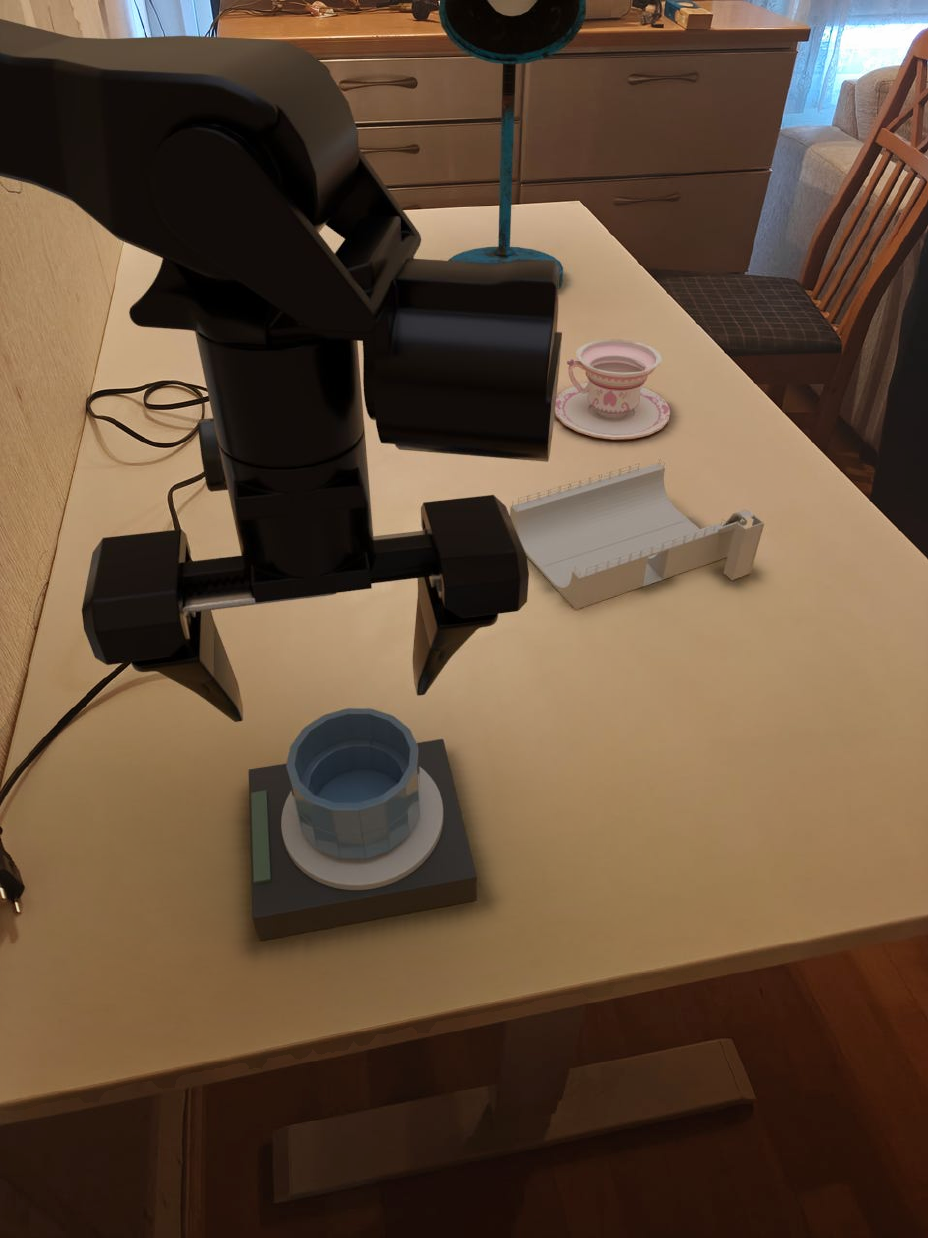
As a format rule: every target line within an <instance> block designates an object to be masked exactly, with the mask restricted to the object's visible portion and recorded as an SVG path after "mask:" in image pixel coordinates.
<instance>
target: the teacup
mask: <svg viewBox="0 0 928 1238" xmlns="http://www.w3.org/2000/svg"><path fill="white" fill-rule="evenodd" d="M575 356H576V359H577V360H574V359H570V360H567V361H566V365H568V376H569V379H570V382H571V383H572V384H573V386H570V387H568V388H566V389H564V390H563V391H562V392H561V393H559V394H557V396H556V406H555V417H556V418H557V419H558V420H559V421H560V422H561V423H562V425H564V426H565V427H566V428H569V429H571V430H573V431H575V432H576V433H579V434H582V435H586V436H589V437H592V438H599V439H605V440H613V441H614V440H616V441H617V440H635V439H638V438H643V437H648V436H650V435H651V436H652V435H653V434H655V433H656V432H659V431H661V430H662V429H664V427H665V426H666V425H667V424H668V423H669V421H670V414H671V408H670V406H669V405H668V403H667V401H666V400H665V399H664V398H663V397H661V396H660V395H659V394H658V393H657V392H654V391H652V390H650V389H648V388H646V387H644V386H643V385H644V384H645V383H646V382H647V380H648V377H649V376H650V375H651V374H652V373H653V372H654V371H655V370H656V368H658V367H659V366H660V365H661V363H662V362H663V361H662V360H663V356H662V354H661V353H660V352H659V351H658V350H657V349H656V348H654V347H652V346H650V345H648V344H645V343H643V342H638V341H634V340H627V339H600V340H593V341H589V342H587V343H585V344H582V345H581V346H580V347H579V348H578V349H577V350H576V354H575ZM574 368H580V369H582V370H583V371H585V376H586V377H587V379H588V382H582V383H579V382H578V380H577V378H575V375H574V372H573V369H574Z"/></svg>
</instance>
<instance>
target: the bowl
mask: <svg viewBox="0 0 928 1238" xmlns="http://www.w3.org/2000/svg"><path fill="white" fill-rule="evenodd" d="M417 743H418V742H417V741H416V739H415V737H414V735H413V733H412V730H411V729H410V728H409V727H408V726H407V725H406V724H404V723H403V722H402V721H401V720H399V719H398V718H397V717H396V716H395V715H392V714H390V713H387V712H383V711H382V710H377V709H374V708H370V707H369V708H368V707H367V708H364V707H360V708H358V707H355V708H354V707H348V708H343V709H340V710H336V711H332V712H329V713H326V714H322V715H321V716H320V717H318V718H317V719H315V720H314V721H312V722H310V723H309V724H308V725H306V726H304V727H303V728H302V729H301V731H300V732H299V734H298V735H297V736H296V738H295V739H294V740H293V742H292V743H291V745H290V746H289V750H288V756H287V760H286V763H285V764H286V768H287V772H288V777H289V782H290V786H291V791H292V795H293V800H294V805H295V809H296V814H297V818H298V821H299V824H300V827H301V831H302V833H303V835H304V836H305V837H306V838H307V839H308V840H309V841H310V842H311V843H312V844H313V845H314V846H315V847H316V848H317V849H318V850H320V851H322V852H325V853H327V854H330V855H332V856H335V857H337V858H358V859H364V858H366V859H367V858H370V857H373V856H376V855H379V854H382V853H385V852H388V851H389V850H391V849H393V848H394V847H395V846H396V845H398V844H399V843H400V842H401V841H403V840H404V839H405V838H406V837H408V835H409V834H410V833H411V831H412V829H413V827H414V826H415V824H416V822H417V820H418V818H419V816H420V805H421V788H420V770H419V751H418V746H417Z"/></svg>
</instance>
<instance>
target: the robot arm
mask: <svg viewBox="0 0 928 1238" xmlns="http://www.w3.org/2000/svg"><path fill="white" fill-rule="evenodd" d="M359 147H360V146H359V131H358V128H357V125H356V121H355V119H354V116H353V112H352V108H351V106H350V103H349V100H348V99H347V98H346V96H345V94H344V93H343V91H342V90H341V88H340V87H339V86H338V84H337V82H336V81H335V79H334V77H333V76H332V75H331V71H330V69H329V67H328V66H327V65H326V64H325V63H323V62H322V61H321V60H320V59H319V58H317V57H316V56H315V55H314V54H312V53H311V52H310V51H307V50H305V49H303V48H301V47H298V46H296V45H294V44H293V43H290V42H287V41H284V40H275V39H269V38H249V37H248V38H246V37H228V36H227V37H224V36H223V37H222V36H202V35H201V36H200V35H169V36H145V37H123V38H122V37H121V38H120V37H119V38H102V37H101V38H100V37H99V38H97V37H75V36H70V35H66V34H62V33H58V32H54V31H50V30H46V29H42V28H38V27H34V26H30V25H26V24H22V23H19V22H15V21H11V20H6V19H3V18H0V177H1V178H6V179H10V180H14V181H19V182H23V183H26V184H30V185H33V186H36V187H39V188H40V189H43V190H46V191H48V192H50V193H53V194H54V195H57V196H59V197H62V198H64V199H66V200H68V201H70V202H72V203H74V204H75V205H76V206H77V207H79V208H80V209H81V210H83V212H85V214H87V215H88V216H90V218H91V219H93V220H94V221H96V223H98V224H99V225H100V226H102V227H103V228H104V229H105V230H106V231H107V232H109V233H110V234H111V235H113V236H114V237H115V238H116V239H118V240H120V241H121V242H124V243H126V244H127V245H131V246H132V247H136V248H138V249H140V250H142V251H144V252H147V253H149V254H152V255H154V256H156V257H159V258H161V259H162V260H161V263H160V267H159V269H158V271H157V274H156V277H155V278H154V279H153V281H152V283H151V285H150V286H149V287H148V289H147V290H146V291H145V292H144V294H143V295H142V296H141V297H140V298H139V299H138V300H137V301H135V302H134V303H132V305H131V307H130V308H129V310H128V314H129V318H130V320H131V322H132V323H133V324H134V325H136V326H138V327H140V328H153V329H164V330H165V329H167V330H168V329H169V330H180V331H181V330H183V331H192V332H194V334H195V339H196V343H197V348H198V354H199V357H200V362H201V368H202V372H203V377H204V382H205V387H206V392H207V397H208V401H209V405H210V411H211V415H212V417H210V418H200V419H199V420H198V422H197V429H198V430H197V432H198V439H199V448H200V456H201V463H202V468H203V469H202V470H203V476H204V479H205V480H204V481H205V485H206V488H207V490H208V491H209V492H211V493H213V492H221V491H227V492H228V497H229V503H230V506H231V512H232V515H233V517H232V518H233V522H234V525H235V531H236V535H237V540H238V544H239V549H240V554H241V555H233V556H226V557H217V558H208V559H207V558H206V559H200V560H199V559H198V560H191V555H192V554H191V551H192V550H191V547H190V544H189V540H188V535H187V533H186V532H185V531H184V530H182V529H181V528H178V529H171V530H162V531H152V532H143V533H134V534H133V533H132V534H124V535H117V536H107V537H102V538H101V540H100V541H99V542H98V544H97V545H96V547H95V548H94V550H93V551H92V555H91V559H90V564H89V569H88V573H87V574H88V575H87V580H86V585H85V591H84V596H83V601H82V607H81V615H82V623H83V630H84V633H85V636H86V638H87V641H88V645H89V646H90V648H91V651H92V654H93V656H94V658H95V659H96V660H98V661H100V662H101V663H103V664H105V665H107V666H111V665H119V664H127V663H130V664H131V666H132V668H133V669H134V670H135V671H136V672H139V673H150V672H156V673H159V674H161V675H162V676H164V677H166V678H168V679H170V680H172V681H173V682H175V683H177V684H178V685H181V686H183V687H184V688H186V689H187V690H190V691H192V692H193V693H195V694H196V695H198V696H199V697H201V698H202V699H204V700H205V701H206V702H208V703H209V704H210V705H212V706H213V707H214V708H216V709H217V710H218V711H219V712H221V713H222V714H224V715H225V716H226V717H227V718H229V719H230V720H231V721H233V722H234V723H239V722H243V721H244V707H243V701H242V696H241V692H240V691H241V690H240V687H239V682H238V678H237V677H236V674H235V673H234V669H233V667H232V664H231V662H230V658H229V656H228V654H227V651H226V648H225V646H224V643H223V641H222V638H221V635H220V633H219V630H218V627H217V624H216V622H215V620H214V616H213V613H212V611H215V610H223V609H232V608H240V607H246V606H255V605H263V604H271V603H279V602H286V601H287V602H289V601H294V600H303V599H304V600H305V599H311V598H321V597H329V596H334V595H336V594H339V593H347V592H355V591H363V590H372V587H373V585H372V584H380V583H389V582H395V581H404V580H413V579H417V599H416V611H415V624H414V635H413V645H412V646H413V648H412V671H413V672H412V673H413V684H414V687H415V694H416V696H418V697H419V696H424V695H426V693H428V691H429V689H430V688H431V686H432V685H433V683H434V682H435V681H436V679H437V678H438V676H439V675H440V673H442V671H443V670H444V668H445V666H446V665H447V664H448V662H449V661H450V660H451V658H452V657H453V656H454V655H455V654H456V653H457V651H459V650H460V648H461V647H462V646H463V645H465V643H466V642H467V641H468V640H469V639H470V638H471V637H472V636H473V635H474V633H476V632H477V630H479V629H481V628H487V627H492V626H493V625H495V624H496V623H497V621H498V619H499V615H500V614H507V613H508V614H509V613H515V612H519V611H520V610H521V609H522V608H523V607H524V605H526V604H527V602H528V593H529V580H530V579H529V578H530V571H529V564H528V557H527V556H526V554H525V551H524V549H523V546H522V544H521V542H520V539H519V537H518V534H517V532H516V530H515V527H514V525H513V522H512V520H511V518H510V512H509V510H508V508H507V506H506V505H505V504H504V503H503V502H502V501H501V500H500V499H499V498H498V497H497V496H496V495H494V494H489V495H479V496H471V497H461V498H451V499H444V500H434V501H426V502H422V505H421V507H420V522H421V523H420V525H421V529H422V530H417V531H409V532H408V531H406V532H399V533H391V534H383V535H374V526H373V516H372V515H373V514H372V503H371V490H370V478H369V477H370V476H369V467H368V453H367V442H366V441H367V440H366V428H365V417H364V405H365V409H366V413H367V415H368V417H369V419H371V420H372V421H375V426H376V430H377V435H378V438H379V442H380V444H386V445H387V444H388V445H394V446H395V448H397V449H398V450H400V451H410V452H422V453H423V452H424V453H435V454H447V455H460V456H471V457H484V458H495V459H498V458H499V459H508V460H519V461H520V460H521V461H532V462H545V463H548V462H549V461H550V455H551V448H552V442H553V441H552V440H553V434H554V433H553V432H554V425H555V424H554V423H555V416H556V414H555V406H556V397H557V396H558V384H559V375H560V364H561V353H562V352H561V351H562V339H563V332H562V331H561V332H560V331H558V320H559V289H558V286H559V273H560V267H559V266H558V264H557V263H556V262H555V261H549V260H531V259H521V260H514V261H509V262H504V263H478V262H461V261H448V260H441V259H425V258H415V255H416V254H417V252H418V250H419V248H420V247H421V243H422V235H421V233H420V232H419V231H418V229H417V228H416V226H415V225H414V224H413V222H412V221H411V219H410V218H409V216H408V215H407V213H406V212H405V211H404V210H403V208H402V207H401V205H400V204H399V202H398V201H397V200H396V198H395V197H394V195H393V194H392V193H391V191H390V190H389V188H388V187H387V185H386V184H385V183H384V182H383V181H384V180H382V179H381V177H380V176H379V174H378V173H377V172H376V170H375V169H374V168H373V166H372V164H371V163H370V162H369V160H368V158H366V156H365V155H364V153H363V152H362V150H361V149H360V148H359ZM324 227H327V228H328V229H331V231H333V232H335V233H336V234H337V235H339V236H340V237H341V238H343V239H344V240H343V242H342V243H341V244H340V246H339V247H338V248H337V249H336V251H335V252H334V251H333V250H332V248H331V247H330V245H328V243H327V241H326V240H325V239H324V238H323V236H322V235H321V234H320V232H321V231H322V230H323V228H324ZM358 341H359V342H362V355H363V356H362V357H363V358H362V361H363V363H362V364H363V366H362V379H361V370H360V357H359V356H360V355H359V354H360V353H359V343H358ZM361 380H362V381H361ZM362 387H363V392H362ZM362 393H363V394H362ZM363 397H364V398H363ZM363 399H364V405H363Z"/></svg>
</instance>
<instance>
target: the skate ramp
mask: <svg viewBox="0 0 928 1238" xmlns="http://www.w3.org/2000/svg"><path fill="white" fill-rule="evenodd" d="M662 463H663V464H662ZM665 464H666V463H665V462H664V461H662V462H661V459H659V460H658V462H656V463H654V464H650V465H647V466H642V467H640V466H637V465H640V463H639V462H638V463H635V464H631V465H628V466H625V467H621V468H619V469H614V470H612V471H608V472H605V473H601V474H598V475H594V476H591V477H588V478H583V479H580V480H577V481H574V482H573V481H572V482H570V483H567V484H563V485H561V486H556V487H552V488H549V491H548V489H546V490H542V491H539V492H535V493H532V494H528V496H527V495H525V496H522V497H519V498H517V503H515V501H512V503H511V504H512V505H510V507H509V508H510V509H509V515H510V518H511V520H512V522H513V525H514V527H515V530H516V532H517V534H518V537H519V539H520V542H521V544H522V546H523V549H524V551H525V554H526V557H527V559H529V560H530V561H531V562H532V563H533V565H534V566H535V567H536V568H537V569H538V570H539V572H540V573H541V574H542V575H543V576H544V577H545V578H546V579H547V580H548V581H549V583H550V584H551V585H552V586H553V587H554V588H555V589H556V590H557V592H559V594H560V595H561V596H562V597H563V599H565V601H567V602H568V604H569V605H570V606H571V607H572V608H573V609H574V610H575V611H576V610H580V609H582V608H585V607H589V606H591V605H594V604H597V603H600V602H603V601H605V600H608V599H611V598H614V597H617V596H619V595H622V594H626V593H629V592H632V591H634V590H637V589H640V588H643V587H646V586H648V585H651V584H654V583H657V582H661V581H663V580H666V579H669V578H672V577H675V576H677V575H681V574H683V573H687V572H689V571H691V570H694V569H697V568H700V567H703V566H706V565H709V564H712V563H714V562H718V561H720V560H721V561H722V560H724V559H726V561H725V566H724V570H723V575H725V576H726V577H727V578H728V579H730V581H734V580H736V579H740V578H742V577H745V576H747V575H751V574H752V573H751V572H752V570H753V569H752V568H753V566H754V562H755V558H756V554H757V551H758V547H759V544H760V541H761V537H762V533H763V530H764V527H765V522H764V521H763V520H761V519H760V518H759V517H757V516H756V515H755V513H753V512H752V511H750V510H749V509H743V510H740V511H737V512H734V513H732V514H731V516H729V518H728V519H727V520H724V518H721V522H718V523H715V524H712V525H709V526H706V527H701V528H700V527H698V526H697V525H696V524H695V523H693V522H692V521H691V520H690V519H689V518H688V517H687V516H686V515H684V514H683V513H682V512H681V511H680V510H679V509H677V508H676V507H675V506H674V505H673V503H672V501H671V500H670V498H669V495H668V493H667V490H666V485H665V470H666V468H665V466H664V465H665ZM634 466H637V467H634ZM632 467H634V468H632ZM627 468H628V469H627ZM636 468H637V469H636ZM622 469H623V471H622ZM624 469H626V470H624ZM616 471H618V472H616ZM613 472H615V473H613ZM608 473H609V475H605V474H608ZM610 473H611V474H610ZM603 475H605V476H603ZM598 476H599V477H598ZM595 477H598V478H595ZM592 478H595V479H592ZM588 479H589V480H588ZM586 480H588V481H586ZM582 481H585V482H582ZM574 483H577V484H576V485H572V484H574ZM567 485H568V486H567ZM564 486H567V487H564ZM561 487H564V488H561ZM557 488H559V489H558V490H554V489H557ZM551 490H554V491H551ZM547 491H548V492H547ZM543 492H544V493H545V492H547V493H545V494H544V493H543ZM541 493H543V494H541ZM533 495H537V496H534V497H530V496H533ZM526 497H527V498H526ZM523 498H526V499H523ZM520 499H523V500H520ZM519 500H520V501H519ZM749 518H751V519H752V520H753V521H752V524H751V526H748V527H744V526H746V525H747V524H748V519H749ZM723 521H724V522H723Z"/></svg>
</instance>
